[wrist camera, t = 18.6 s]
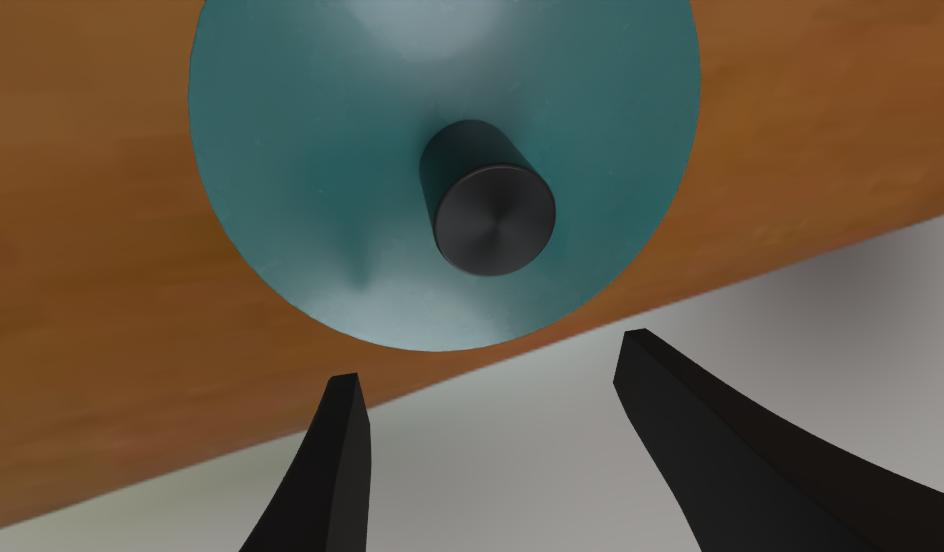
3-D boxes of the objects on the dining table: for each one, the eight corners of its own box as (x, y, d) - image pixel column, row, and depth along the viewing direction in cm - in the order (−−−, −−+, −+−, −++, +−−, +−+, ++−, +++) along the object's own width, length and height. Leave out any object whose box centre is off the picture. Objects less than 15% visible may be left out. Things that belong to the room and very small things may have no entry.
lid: (91, 158, 11) (-43, 246, 7) (484, -383, 7) (588, -712, 4) (451, 381, 17) (472, 481, 14) (741, 154, 14) (863, 211, 11)
